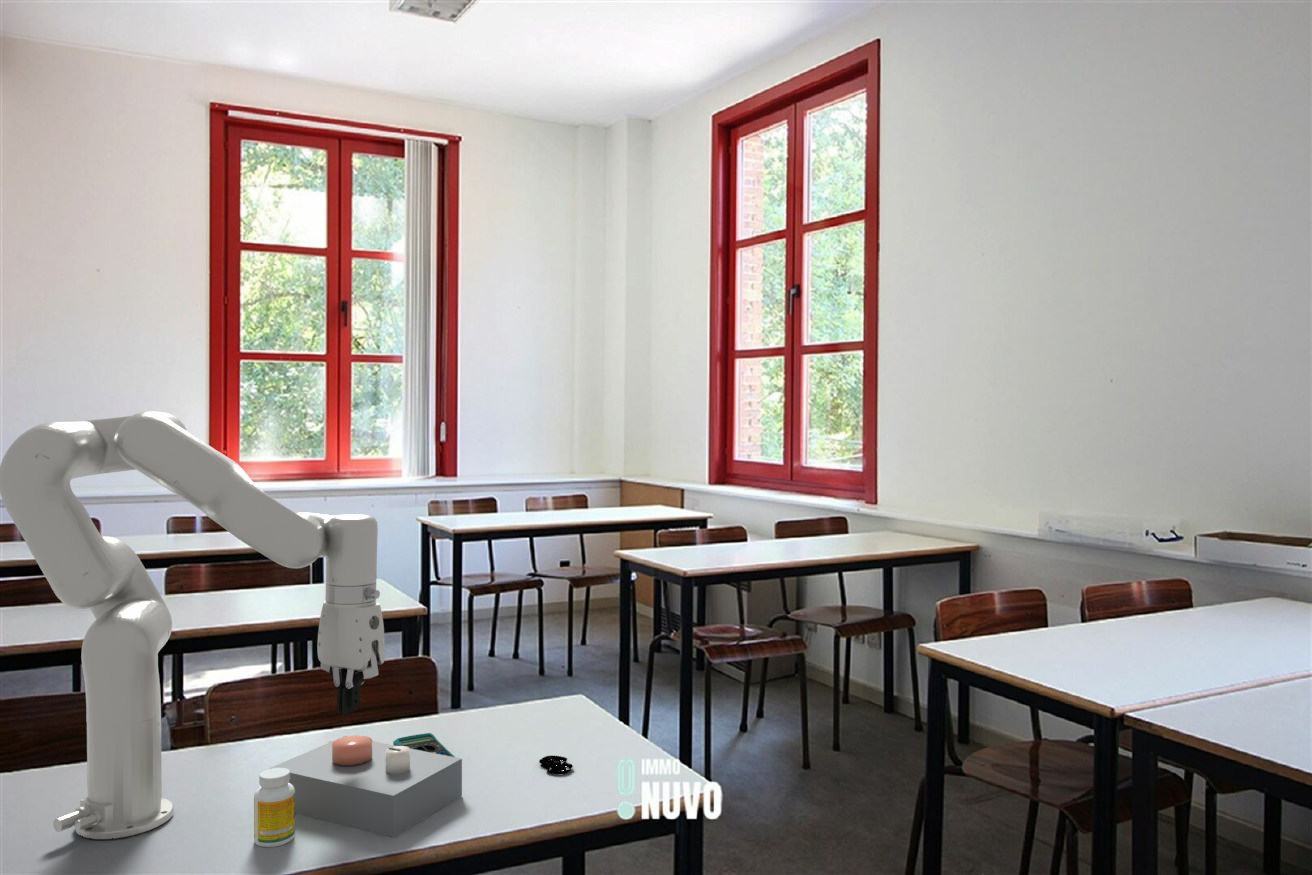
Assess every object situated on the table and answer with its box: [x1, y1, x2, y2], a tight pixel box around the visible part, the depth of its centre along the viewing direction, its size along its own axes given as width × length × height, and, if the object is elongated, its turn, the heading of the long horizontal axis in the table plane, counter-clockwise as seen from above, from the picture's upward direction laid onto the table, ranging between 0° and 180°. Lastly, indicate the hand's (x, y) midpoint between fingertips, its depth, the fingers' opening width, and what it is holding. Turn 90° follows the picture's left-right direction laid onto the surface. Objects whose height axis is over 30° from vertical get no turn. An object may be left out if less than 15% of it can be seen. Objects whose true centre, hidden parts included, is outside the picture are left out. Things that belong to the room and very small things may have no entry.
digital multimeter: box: [392, 732, 456, 757], centre depth 164 cm, size 7×15×3 cm, turn 30°
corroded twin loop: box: [538, 755, 574, 775], centre depth 161 cm, size 5×8×1 cm, turn 24°
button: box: [332, 735, 373, 765], centre depth 148 cm, size 6×6×5 cm
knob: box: [386, 746, 410, 774], centre depth 144 cm, size 4×4×3 cm
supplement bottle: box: [253, 768, 296, 848], centre depth 133 cm, size 5×5×10 cm
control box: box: [269, 735, 463, 838], centre depth 147 cm, size 16×24×6 cm, turn 65°
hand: (348, 710), depth 147 cm, fingers closed
